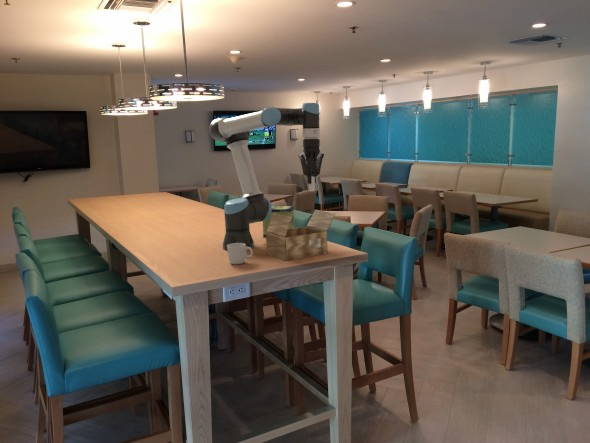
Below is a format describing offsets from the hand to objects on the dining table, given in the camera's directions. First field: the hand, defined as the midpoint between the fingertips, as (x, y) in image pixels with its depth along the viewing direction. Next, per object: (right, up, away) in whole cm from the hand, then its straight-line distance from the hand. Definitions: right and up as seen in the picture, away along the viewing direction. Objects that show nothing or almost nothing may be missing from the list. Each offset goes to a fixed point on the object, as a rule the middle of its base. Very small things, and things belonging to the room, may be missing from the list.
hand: (311, 190), depth 218 cm
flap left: (-16, -20, -7) cm, 27 cm away
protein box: (-16, -22, +42) cm, 50 cm away
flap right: (+2, -17, +3) cm, 18 cm away
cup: (-31, -32, -14) cm, 47 cm away
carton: (-7, -28, 0) cm, 29 cm away
